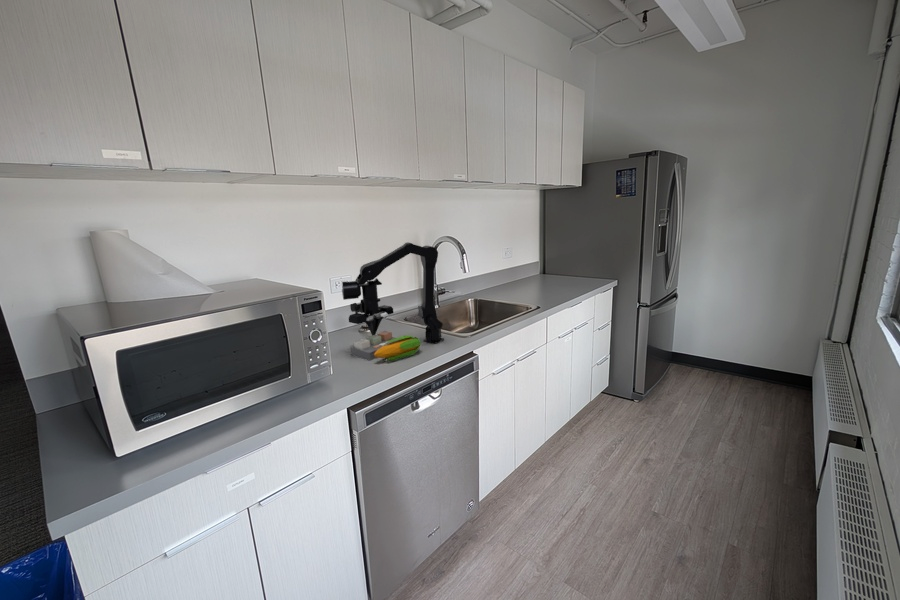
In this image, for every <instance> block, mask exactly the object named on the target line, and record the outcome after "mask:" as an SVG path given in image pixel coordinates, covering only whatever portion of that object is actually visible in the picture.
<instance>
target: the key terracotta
mask: <svg viewBox="0 0 900 600" xmlns="http://www.w3.org/2000/svg"><path fill="white" fill-rule="evenodd" d="M392 332H393V331H387V330H383V331H380V332H378V333H377V332H376V335H378V336H381V340H382V341H386V340H389V339H392V337H393V333H392Z"/></svg>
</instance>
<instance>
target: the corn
mask: <svg viewBox="0 0 900 600" xmlns="http://www.w3.org/2000/svg"><path fill="white" fill-rule="evenodd" d="M400 339H401V340H400ZM396 340H398V341H396ZM392 341H395V342H392ZM389 342H392V343H390V344H387V345H385V346H383V347H381V348H380V349H378V350H377V351H376V352H375V354H374V356H375V357H377V358H376V359H386V360H385V361H386V362H390V361H393V362H394V361H397V360H401V359H403V358H407V357H410V356H412V355H414V354H416V353H417V352H418V350H419V349H420V347H421V340H420V338H418V337H417V336H414V335H411V334H410V335H409V334H408V335H403V336H399V337H395V339H392V340H390V341H388V342H387V343H389ZM400 358H401V359H400Z"/></svg>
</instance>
